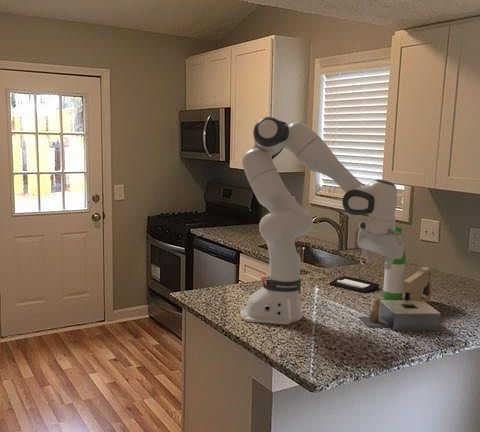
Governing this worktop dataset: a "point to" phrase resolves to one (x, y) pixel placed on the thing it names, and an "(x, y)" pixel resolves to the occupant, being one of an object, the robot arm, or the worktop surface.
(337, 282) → the light switch
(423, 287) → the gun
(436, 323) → the grey box with hole
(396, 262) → the wine bottle
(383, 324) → the mat
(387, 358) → the worktop surface
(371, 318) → the tan rounded peg
